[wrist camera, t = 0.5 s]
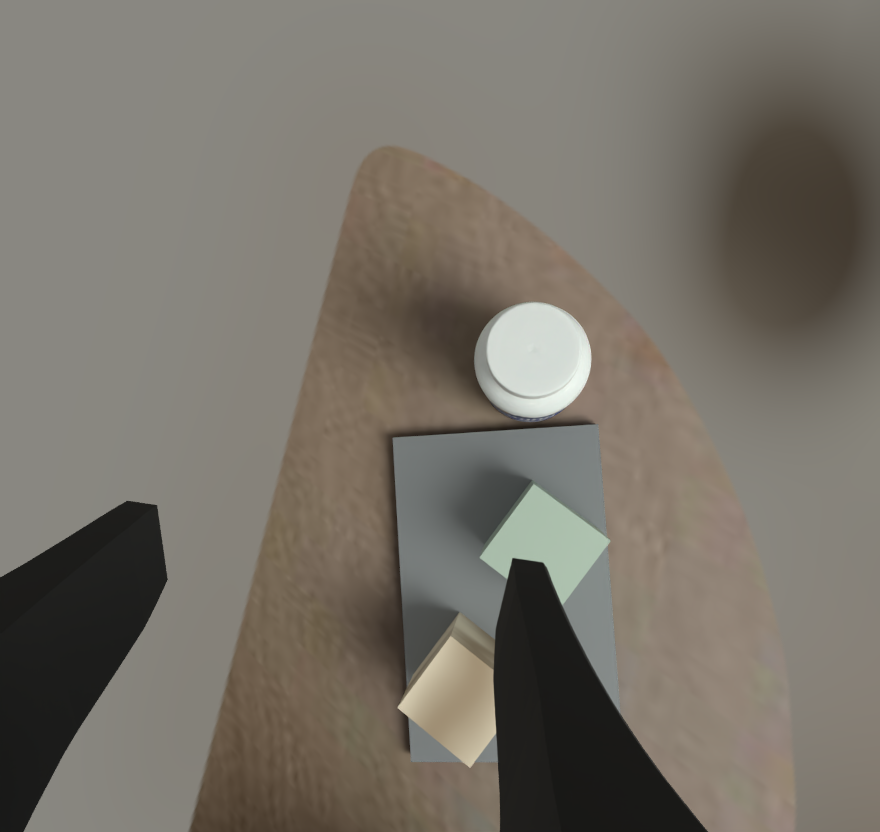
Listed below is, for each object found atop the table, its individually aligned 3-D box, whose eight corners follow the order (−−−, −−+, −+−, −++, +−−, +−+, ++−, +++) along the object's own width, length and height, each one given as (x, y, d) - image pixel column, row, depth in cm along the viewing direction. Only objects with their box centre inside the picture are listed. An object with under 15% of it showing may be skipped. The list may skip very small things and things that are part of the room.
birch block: (524, 662, 33) (524, 694, 29) (476, 726, 34) (469, 767, 29) (459, 611, 34) (450, 636, 30) (413, 674, 34) (397, 707, 30)
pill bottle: (468, 402, 35) (448, 385, 26) (503, 316, 35) (496, 267, 26) (556, 437, 35) (570, 434, 25) (592, 349, 35) (619, 312, 25)
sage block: (600, 529, 33) (610, 540, 29) (550, 595, 33) (554, 615, 29) (532, 479, 34) (533, 484, 30) (484, 544, 34) (479, 557, 30)
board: (621, 754, 33) (624, 762, 32) (413, 754, 35) (411, 761, 34) (596, 424, 34) (598, 424, 34) (395, 437, 36) (392, 437, 35)
